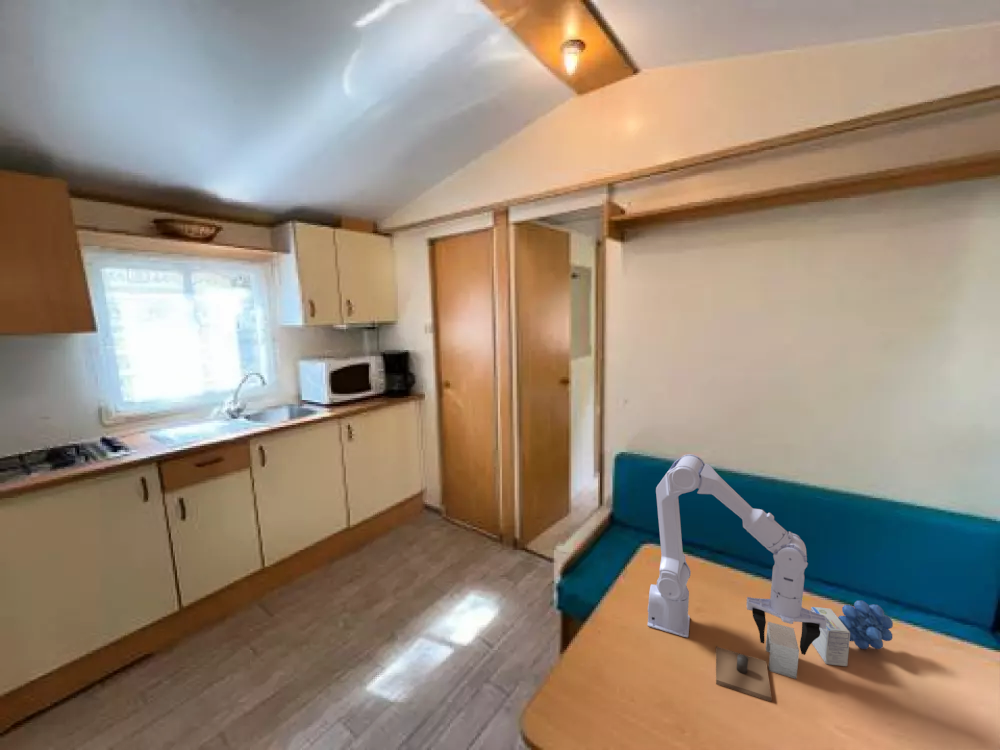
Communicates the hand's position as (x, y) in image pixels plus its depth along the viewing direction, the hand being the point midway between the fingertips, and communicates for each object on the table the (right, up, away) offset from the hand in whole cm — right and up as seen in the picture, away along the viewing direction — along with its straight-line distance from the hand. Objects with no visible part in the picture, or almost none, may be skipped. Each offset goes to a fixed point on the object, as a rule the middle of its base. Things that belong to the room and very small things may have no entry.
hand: (781, 645), depth 95 cm
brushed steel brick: (0, -4, +1) cm, 4 cm away
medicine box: (+13, -4, +3) cm, 14 cm away
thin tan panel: (-10, -5, -2) cm, 12 cm away
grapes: (+22, -4, +3) cm, 22 cm away
